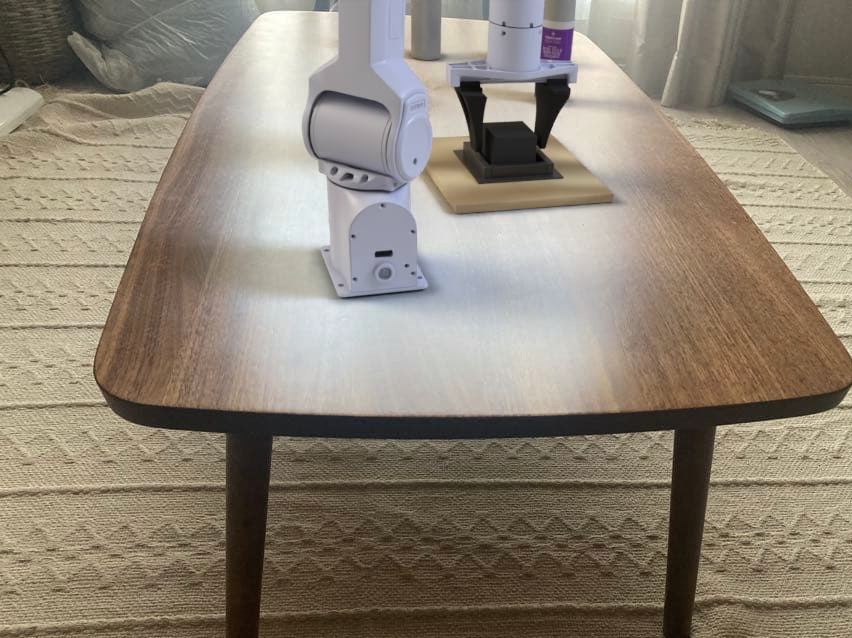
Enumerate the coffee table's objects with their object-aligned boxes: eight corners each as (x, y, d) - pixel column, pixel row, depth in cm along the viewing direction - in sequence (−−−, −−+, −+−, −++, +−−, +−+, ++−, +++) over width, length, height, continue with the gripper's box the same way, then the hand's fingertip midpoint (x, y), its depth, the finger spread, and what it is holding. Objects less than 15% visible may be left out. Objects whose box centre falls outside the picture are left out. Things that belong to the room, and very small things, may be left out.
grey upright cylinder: (406, 57, 143) (406, -15, 137) (418, 50, 147) (418, -20, 141) (433, 62, 142) (434, -10, 136) (444, 55, 146) (446, -16, 140)
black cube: (535, 170, 106) (537, 135, 103) (493, 172, 104) (495, 137, 102) (520, 154, 109) (522, 120, 107) (479, 156, 108) (481, 122, 106)
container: (538, 106, 129) (548, -11, 120) (530, 95, 132) (538, -19, 124) (571, 105, 130) (582, -10, 121) (561, 95, 134) (572, -18, 125)
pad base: (612, 202, 103) (615, 180, 101) (455, 214, 97) (456, 191, 96) (548, 139, 118) (550, 119, 116) (409, 146, 112) (409, 126, 111)
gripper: (565, 12, 103) (554, 132, 111) (438, 12, 99) (437, 138, 106) (590, 28, 98) (577, 153, 106) (457, 29, 93) (454, 160, 101)
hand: (508, 147), depth 106 cm, fingers open, 7 cm apart
